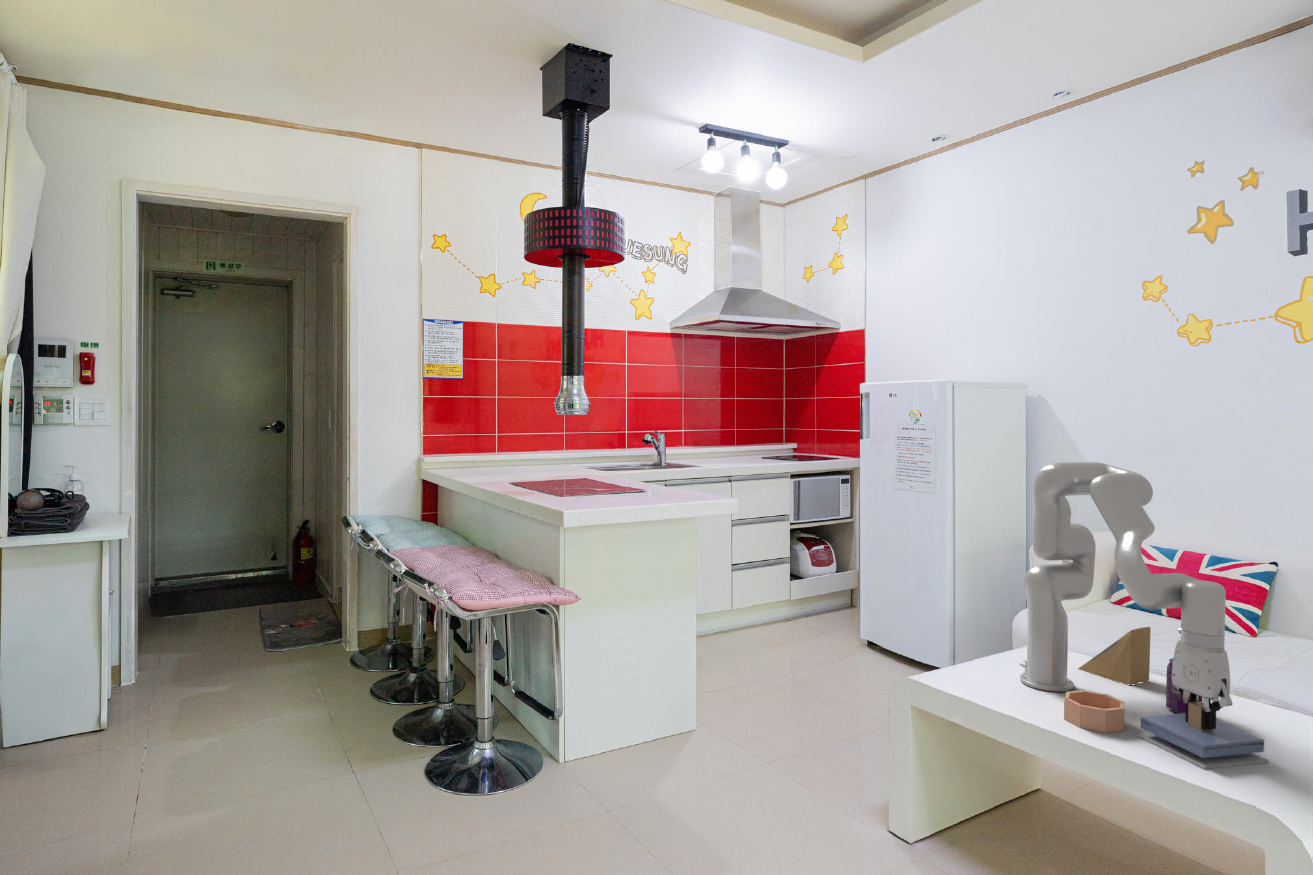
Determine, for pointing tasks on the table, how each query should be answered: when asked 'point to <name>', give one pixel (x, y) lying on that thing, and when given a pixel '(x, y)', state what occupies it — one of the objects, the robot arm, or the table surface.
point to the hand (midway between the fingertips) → (1200, 724)
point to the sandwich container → (1124, 658)
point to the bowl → (1094, 711)
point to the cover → (1201, 734)
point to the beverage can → (1174, 693)
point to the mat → (1204, 762)
